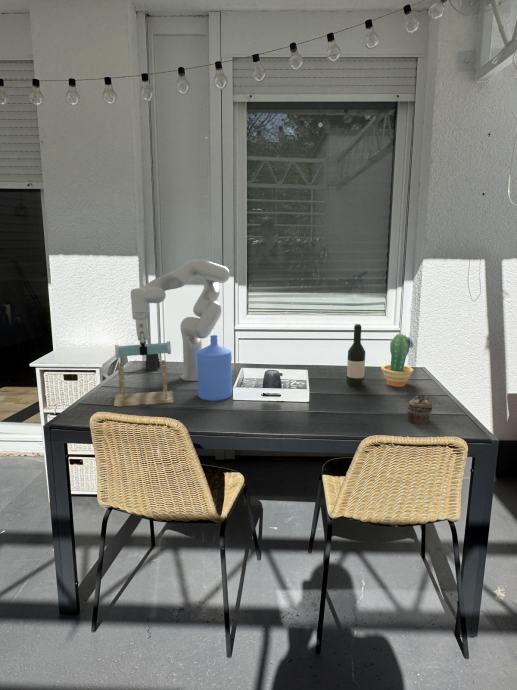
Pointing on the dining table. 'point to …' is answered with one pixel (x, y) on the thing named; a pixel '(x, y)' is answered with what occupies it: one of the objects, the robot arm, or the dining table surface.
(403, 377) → the potted cactus
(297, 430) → the dining table surface
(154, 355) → the phone stand
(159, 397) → the stand
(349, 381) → the wine bottle
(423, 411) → the cupcake
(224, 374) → the water jug
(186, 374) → the robot arm
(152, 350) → the teal long bar
